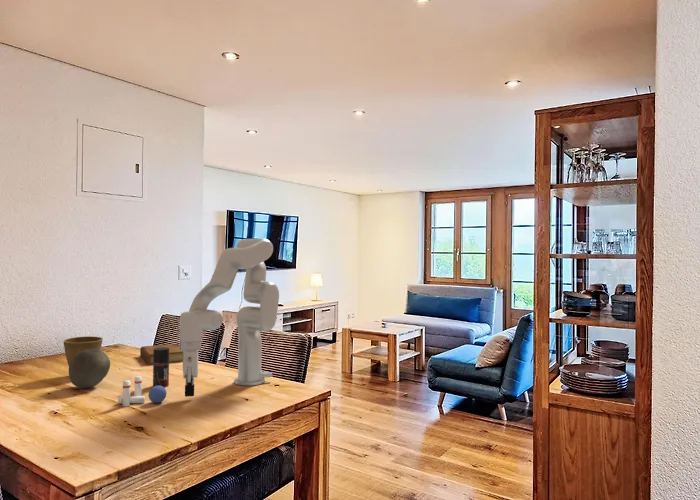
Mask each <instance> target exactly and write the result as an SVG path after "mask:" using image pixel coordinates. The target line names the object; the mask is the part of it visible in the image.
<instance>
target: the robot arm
mask: <svg viewBox="0 0 700 500" xmlns="http://www.w3.org/2000/svg"><path fill="white" fill-rule="evenodd" d="M273 252H274V245H273V243H272V242H271V241H270V240H269V239H268V238H267V239H266V238H244V239H243V238H242V239H241V240H238V242H237V244H236V247H229V248H225V249H224V250H223V251H222V252H221V254H220V256H219V257H218V260H217V263H216V266H215V268H214V271H213V274H212V275H211V278H210V281H209V282H208V283H206V285H204V286H203V287H202V289H201V290H200V291H199V292H198V293H197V294H196V295H195V297H194V299H192V303H191V305H190V307H189V310H188V311H183V312H181V314H180V315H179V345H180V346H179V348H180V349H179V350H180V351H183V362H182V375H183V377H182V378H183V379H184V380H185V385H184V397H194V396H195V380H194V379H197V378H198V376H199V351H200V350H202V331H214V330H217V329H219V328H220V327H221V326H222V324H223V320H224V317H223V316H222V314H221V313H220V312H219V311H217V310H215V309H208V306H209V305H210V304H211V303H212V302H213V300H215V299H216V298H218V297H220V296H222V295H224V294H226V293H227V292H229V291H230V290H231V289H232V287H233V284H234V281H235V278H236V276H237V274H238V272H239V271H238V270H245V278H244V285H243V295H242V296H243V299H244V300H245V302H247V303H249V304H256V305H258V304H259V306H251V305H250V306H249V305H248V306H247V305H246V306H244V307H241V308H240V309H239V310H238V311H237V314H236V315H235V316H236V317H235V319H236V326H237V332H238V333H237V335H238V347H237V348H238V349H237V353H238V354H237V358H238V362H237V377H236V378H234V379H233V384H235V385H237V386H238V385H239V386H242V387H243V386H244V387H245V386H257V385H262V384H264V383H265V381H266V378H272V377H273V372H272V371H271V372H269V371H263V370H262V343H263V342H262V336H261V335H262V334H261V332H269V331H271V330H273V328H274V327H275V325H276V323H277V317H278V309H279V301H280V290H279V288H278V286H277V284H276V283H275V282H272V281H266V279H267V267H266V264H265V261H267V260H269V258H270V257H272V254H273Z"/></svg>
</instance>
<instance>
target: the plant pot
mask: <svg viewBox="0 0 700 500" xmlns="http://www.w3.org/2000/svg"><path fill="white" fill-rule="evenodd" d="M103 340H104V339H103V337H101V336H75V337H69V338H66V339H63V348H64V353H65V359H66V362H67V365H68V367H69V366H70V364H71V361H72V360H73V358H74V357H75V356H76V355H77V354H78V353H79V352H81V351H84V350H87V349H96V350H100V351H102V345H103Z"/></svg>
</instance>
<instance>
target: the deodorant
mask: <svg viewBox="0 0 700 500" xmlns="http://www.w3.org/2000/svg"><path fill="white" fill-rule="evenodd" d="M152 366H153V367H152V369H153V370H152V374H153V375H152V388H153V387H154V386H162V387H164V388H167V387H169V385H170V383H169V381H170V380H169V379H170V363H169V348H166V347H161V348H155V349H154V352H153V365H152Z"/></svg>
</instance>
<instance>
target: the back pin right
mask: <svg viewBox="0 0 700 500" xmlns="http://www.w3.org/2000/svg"><path fill="white" fill-rule="evenodd" d="M142 377H143V376H142V375H141V376H140V375H137V376H134V380H133V381H134V382H133V383H134V387H133V388H134V390H133V391H134V394H133V395H134V396H143V395H142V393H143V392H142V387H143V384H142V383H143V378H142Z"/></svg>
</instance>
